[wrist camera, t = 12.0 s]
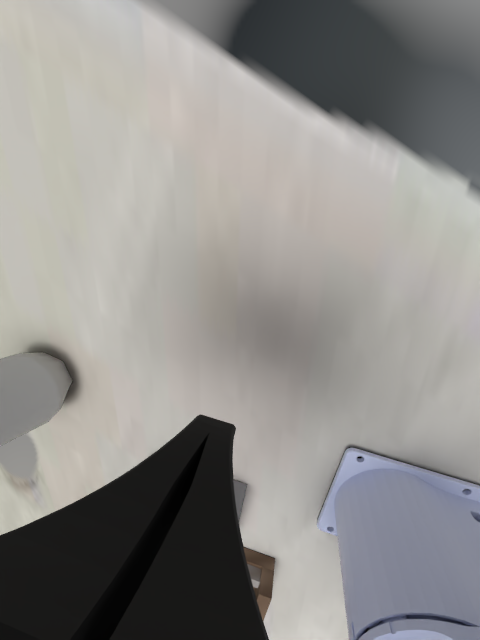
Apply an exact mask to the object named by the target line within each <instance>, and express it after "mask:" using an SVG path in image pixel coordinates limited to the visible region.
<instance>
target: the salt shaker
mask: <svg viewBox="0 0 480 640" xmlns="http://www.w3.org/2000/svg"><path fill="white" fill-rule="evenodd" d="M71 383H72V379H71V377H70V375H69V373H68V371H67V369H66V367H65V364H64V362H63V361H61V360H59V359H57V358H55V357H53V356H50V355H48V354H46V353H44V352H39V353H19V354H16V355H12V356H8V357H5V358H2V359H0V446H2V445H4V444H6V443H8V442H10V441H12V440H14V439H16V438H18V437H20V436H22V435H24V434H26V433H28V432H30V431H31V430H33V429H35V428H37V427H39V426H41V425H43V424H45V423H47V422H49V421H50V419H51V418H52V417H53V416H54V415H55V414H56V413H57V412H58V411H59V410H60V409H61V407H62V404H63V402H64V399H65V397H66V394H67V392H68V389H69V387H70V385H71Z"/></svg>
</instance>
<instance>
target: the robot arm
mask: <svg viewBox="0 0 480 640" xmlns="http://www.w3.org/2000/svg"><path fill="white" fill-rule="evenodd" d="M235 430H236V428H235V426H234V425H233V424H230V423H227V422H223V421H220V420H217V419H213V418H210V417H207V416H204V415H199V416H197V417H196V418H195V419H194V420H193V421H192V422H191V423H190V424H189V425H187V426H186V427H185V428H184V429H183V430H182V431H181V432H180V433H178V434H177V435H176V436H175V437H174V438H173V439H171V440H170V441H169V442H168V443H166V444H165V445H164V446H163V447H161V448H160V449H159V450H158V451H156V452H155V453H154V454H152V455H151V456H149V457H148V458H147V459H145V460H144V461H142V462H141V463H140V464H138V465H137V466H135V467H134V468H133V469H131V470H129V471H128V472H126V473H125V474H123V475H122V476H120V477H119V478H117V479H115V480H114V481H112V482H110V483H109V484H107V485H105V486H104V487H102V488H100V489H98V490H96V491H95V492H93V493H91V494H89V495H87V496H85V497H84V498H82V499H80V500H78V501H76V502H74V503H72V504H70V505H68V506H66V507H64V508H62V509H60V510H58V511H55V512H53V513H51V514H49V515H47V516H45V517H42V518H40V519H38V520H36V521H34V522H31V523H29V524H27V525H25V526H23V527H20V528H18V529H15V530H13V531H10V532H8V533H5V534H3V535H0V640H269V639H268V636H267V633H266V629H265V626H264V623H263V620H262V616H261V613H260V610H259V606H258V603H257V600H256V596H255V592H254V588H253V584H252V580H251V577H250V573H249V569H248V565H247V561H246V557H245V553H244V548H243V543H242V538H241V533H240V528H239V522H238V516H237V509H236V502H235V493H234V482H233V463H232V453H233V439H234V434H235ZM359 456H362V458H357V457H359ZM464 489H467V490H464ZM329 526H330V527H329ZM317 527H318V528H319V529H320V530H321V531H324V532H327V533H330V534H333V535H336V536H338V545H339V554H340V563H341V572H342V581H343V590H344V599H345V608H346V617H347V626H348V635H349V640H480V486H479V485H476V484H472V483H469V482H466V481H462V480H459V479H456V478H452V477H449V476H446V475H442V474H439V473H436V472H432V471H429V470H426V469H422V468H419V467H416V466H412V465H409V464H406V463H402V462H399V461H396V460H393V459H389V458H386V457H383V456H379V455H376V454H373V453H369V452H366V451H363V450H359V449H356V448H348V449H347V450H346V451H345V453H344V456H343V458H342V460H341V463H340V465H339V468H338V470H337V473H336V475H335V478H334V480H333V483H332V485H331V488H330V490H329V493H328V495H327V498H326V500H325V503H324V505H323V508H322V510H321V513H320V515H319V518H318V520H317Z"/></svg>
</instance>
